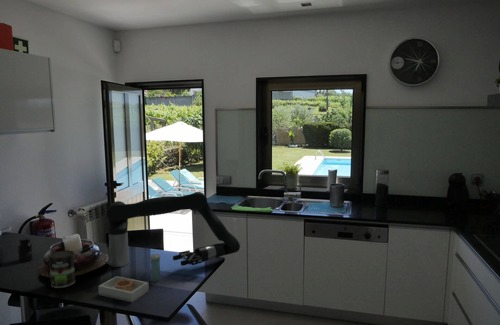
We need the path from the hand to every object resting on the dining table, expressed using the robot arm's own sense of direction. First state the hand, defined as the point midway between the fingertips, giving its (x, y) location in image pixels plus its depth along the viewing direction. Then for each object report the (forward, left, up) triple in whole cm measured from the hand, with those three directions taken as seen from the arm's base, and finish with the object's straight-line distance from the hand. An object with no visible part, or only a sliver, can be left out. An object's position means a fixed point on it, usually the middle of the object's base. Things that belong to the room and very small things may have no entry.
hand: (177, 261), depth 177 cm
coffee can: (-44, -29, -7) cm, 53 cm away
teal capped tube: (-6, -10, -7) cm, 13 cm away
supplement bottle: (-87, -16, -7) cm, 88 cm away
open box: (-11, -26, -7) cm, 29 cm away
